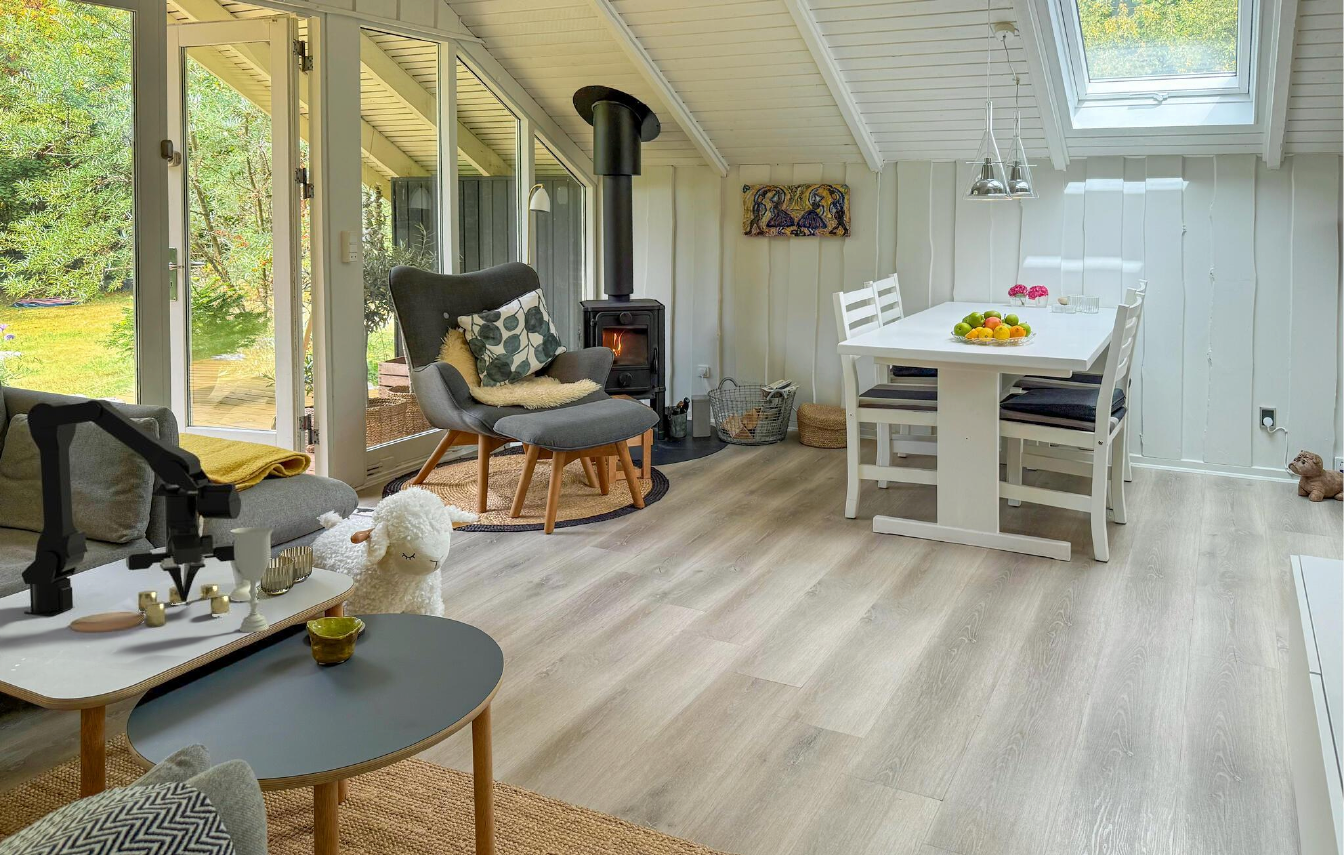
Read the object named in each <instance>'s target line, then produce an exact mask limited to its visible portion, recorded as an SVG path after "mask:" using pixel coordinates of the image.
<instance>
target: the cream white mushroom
mask: <svg viewBox="0 0 1344 855" xmlns="http://www.w3.org/2000/svg"><path fill="white" fill-rule="evenodd" d="M250 586H251V585H250V581H247V580H245V579H244V578H243V579H242V582H241V584H240V585H239V586H237V587H235V588H233V589H232V591H231V592H230V595H229V599H230V598H232V599H234V600H250V599H251V596H250V593H249V591H250ZM256 596H257V595H256Z"/></svg>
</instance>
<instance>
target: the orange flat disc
mask: <svg viewBox="0 0 1344 855" xmlns="http://www.w3.org/2000/svg"><path fill="white" fill-rule="evenodd" d="M144 619H145V620H146V615H144V613H142V614H141V613H139V612H134V611H132V612H131V611H118V612H117V611H116V612H113V611H112V612H106V613H105V612H103V613H97V614H90V615H86V616H82V617H79V618H76V619H73V620H72V621H71V622H70V630H72V631H74V632H78V633H90V634H91V633H92V634H93V633H108V632H115V631H116V632H117V631H121V630H122V631H123V630H126V629H131V628H134V627H137V626H140V625H142V624H143V623H142V622H143V621H144ZM144 622H145V621H144ZM141 623H142V624H141Z"/></svg>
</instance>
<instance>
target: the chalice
mask: <svg viewBox="0 0 1344 855" xmlns="http://www.w3.org/2000/svg"><path fill="white" fill-rule="evenodd" d="M273 531H274V528H273V527H267V526H250V527H249V526H248V527H240V528H233V529H231V530H230V533H231V534H232V537H233V545H234V558H235V560H234V561H235V563H236V566H237V569H238V570H239V572H240V574H241V576H242V577H243V579H245V580H247V581H250V585H251V586H250V591H249V593H250V596H251V599H250V601H249V602H247V603H248V604H249V606H250V612H249V613H248V615H246V616H244V618H243V619H242V622H241V624H240V627H239V629H240V632H243V633H255V632H256V633H258V632H262V631H266V630H269V629H270V626H269V625H268V624H267V619H266V617H265V616H264V615H263V614H259V612H258V609H257V606H258V603H260V601H259V599H258V600H257V598H256V595H257V593H258V590H257V588H256V587H257V582H258V581H259V580H262V579H263V576H264V574H265V572H266V569H267V568H268V565H269V562H270V560H271V556H272V552H271V548H272V547H271V535H272V533H273Z"/></svg>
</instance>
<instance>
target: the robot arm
mask: <svg viewBox="0 0 1344 855" xmlns="http://www.w3.org/2000/svg"><path fill="white" fill-rule="evenodd" d="M26 415H27V416H26V420H27V425H28V429H29V434H30V437H31V439H32V440H33V443H34V444H35V445H36V448H37V449H38V452H39V464H40V466H39V468H40V481H41V482H40V484H41V501H42V519H43V521H42V522H43V526H42V527H43V528H42V529H41V533H40V534H39V537H38V538H37V541H36V546H35V547H36V548H35V556H34V557H35V559H34V561H32V563H30V565H28V567H26V569H25V570H24V571H22V572H21V577H22V579H23V582H24V584H25V585H29V595H30V597H29V598H30V609H28V610H24V611H23V614H24V615H31V616H32V615H34V616H35V615H36V616H49V617H50V616H51V617H52V616H53V617H54V616H56V615H60V614H63V613H65V612H67V611H70V610H72V609H74V608H75V606H74V603H73V599H74V598H73V586H72V583H71V578H70V576H74V575H75V573H76V570H77V568H78V566H80V565H81V563H82V562H83V561H84V559H85V553H88V552H89V551H88V549H87V545H86V540H87V539H86V538H87V532H86V531H85V530H84V531H78V530H77V528H76V527H75V526H76V525H75V524H74V519H73V505H72V485H71V468H70V467H71V466H70V447H71V444H72V442H73V440H74V437H75V435H76V432H77V431H76V430H77V424H82V423H83V424H84V423H88V422H91V423H93V424H95V425H96V426H97V427H99V428H100V429H102V430H103V431H105V432H106V433H107V434H109V435H110V436H112V437H113V438H115V439H116V440H118V441H119V442H121V443H122V444H123V445H125V446H126V447H128V448H129V449H130V450H131V451H133V452H135V454H137V455H138V456H140V457H141V458H143V460H144V461H145V462H146V463H147V465H148V466H149V468H150V469H151V471H152V472H153V473H154V474H155V475H156V476H157V477H158V478H159V479H160V480H161V481H162V482H163V483H160V484H159V486H158V487H157V488H156V489H154V491H153V492H152V493H151V496H152V497H163V503H164V504H163V506H164V510H163V511H164V535H165V536H164V541H165V552H154V553H153V552H152V551H151V550H150V548H147V549H138V550H137V549H136V550H134V549H133V550H128V551H127V553H126V554H125V566H126V568H127V570H129V571H137V570H138V571H139V570H146V569H147V570H148V569H149V568H150V567H151V566H152V565H153V564H158V563H160V564H159V567H160V568H161V570H162V571H163V572H168V573H169V575H170V577H171V579H172V582H173V584H174V587H176V589H177V591H178V594H179V596H180V599H181V601H186V600H187V598H188V597H189V594H190V591H191V588H192V586H193V581H194V579H195V577H196V575H197V573H198V571H199V570H200V569H202V568H206V564H205V562H204V561H205V560H206V559H213V558H216V559H217V560H218V561H219V562H220V563H221V562H222V563H223V562H230V561H231V562H232V561H235V558H234V544H232V543H231V542H230V541H229V542H227V541H226V542H218V543H214V538H213V535H212V534H206V535H205V534H204V535H203V534H202V535H201V536H200V534H199V516H201V518H202V519H203V520H236V519H237V518H239V516H240V512H241V508H242V499H241V498H240V494H239V492H238V489H237V487H236V483H235V482H228V483H222V484H221V483H214V482H213V481H212V479H210V477H209V476H208V474H207V472H205V471H204V469H203V468H202V467H201V466H202V465H201V460H200V459H199V457H198V456H197V455H195V453H192V452H190V451H188V450H186V449H184V448H182V447H179V446H177V445H173V444H172V443H168V442H166V441H163V440H162V439H160V438H159V437H157V435H154V434H153V433H151V432H150V431H149V430H147V429H146V428H145V427H143V426H142V425H141V424H139V423H137V422H136V421H135V420H133V419H132V418H130V417H129V416H128V415H126V414H124V413H123V412H122V411H120V410H119V408H118V409H117V407H115V406H114V405H113V404H111V402H110V401H108V400H105V399H92V400H88V401H85V402H79V403H72V404H69V403H68V402H66V401H48V402H47V401H46V402H39V403H37V404H34V405H32V407H31V408H30V409H29V410H28V412H27V414H26ZM180 565H181V566H182V565H183V566H184V567H183V577H182V567H181V566H180ZM68 577H69V578H68ZM182 578H183V579H182Z"/></svg>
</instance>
